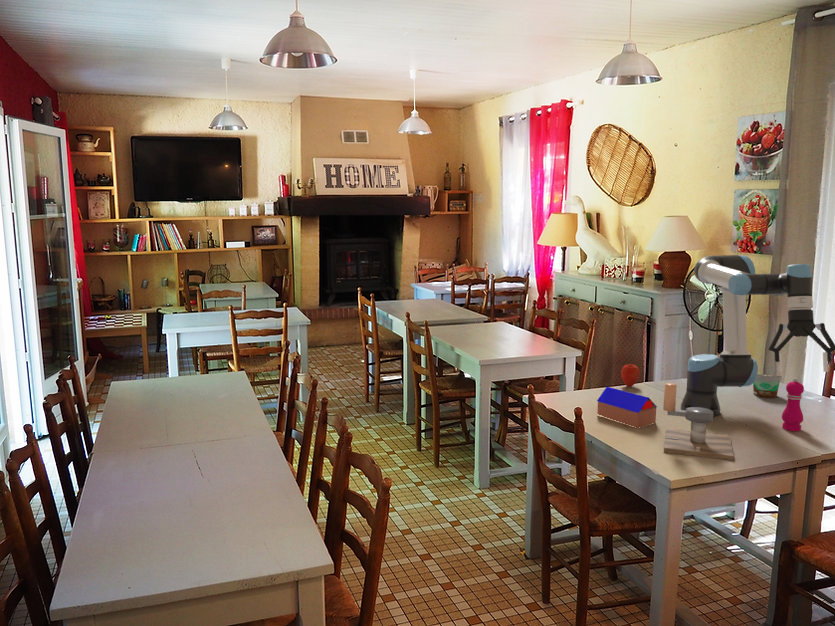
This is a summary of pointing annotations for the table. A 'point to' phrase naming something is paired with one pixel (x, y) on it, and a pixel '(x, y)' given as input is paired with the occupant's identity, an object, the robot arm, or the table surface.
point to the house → (626, 407)
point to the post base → (706, 449)
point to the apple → (630, 374)
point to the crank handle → (691, 413)
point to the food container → (766, 386)
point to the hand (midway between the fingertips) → (802, 371)
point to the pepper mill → (793, 407)
